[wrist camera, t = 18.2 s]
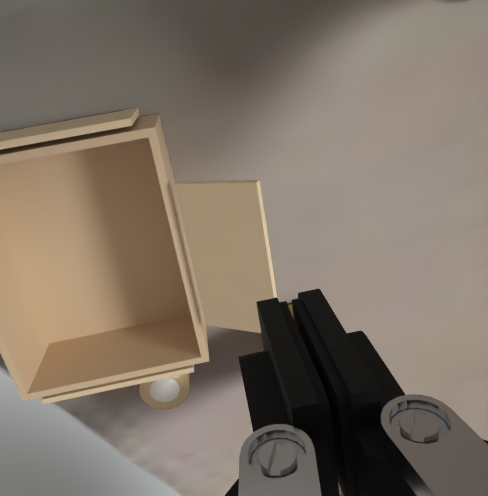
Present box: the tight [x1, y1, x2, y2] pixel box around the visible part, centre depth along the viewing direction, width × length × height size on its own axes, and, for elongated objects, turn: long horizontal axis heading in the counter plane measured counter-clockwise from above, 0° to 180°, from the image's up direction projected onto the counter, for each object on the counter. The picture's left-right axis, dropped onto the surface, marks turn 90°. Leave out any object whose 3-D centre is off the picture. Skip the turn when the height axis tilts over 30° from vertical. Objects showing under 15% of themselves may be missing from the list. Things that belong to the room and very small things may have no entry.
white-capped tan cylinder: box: [139, 373, 190, 409], centre depth 46 cm, size 5×5×5 cm
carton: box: [0, 108, 209, 404], centre depth 39 cm, size 22×16×8 cm
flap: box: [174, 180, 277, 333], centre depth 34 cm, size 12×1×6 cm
